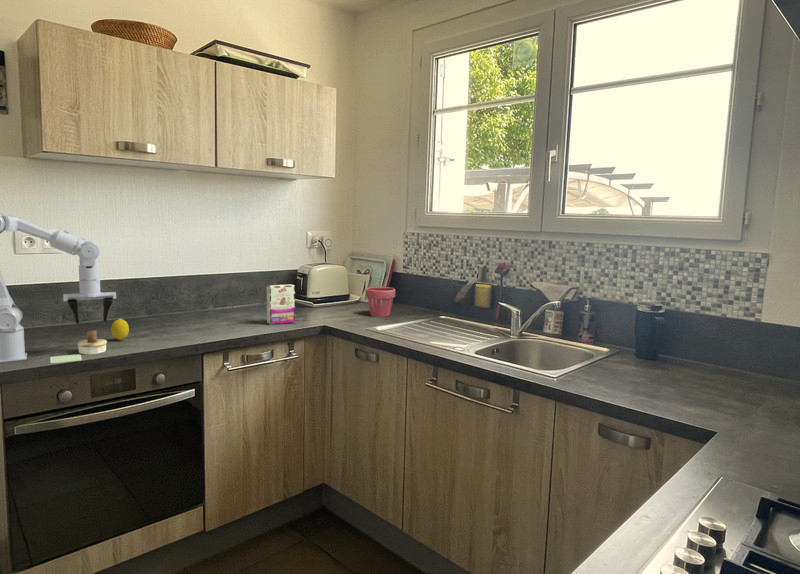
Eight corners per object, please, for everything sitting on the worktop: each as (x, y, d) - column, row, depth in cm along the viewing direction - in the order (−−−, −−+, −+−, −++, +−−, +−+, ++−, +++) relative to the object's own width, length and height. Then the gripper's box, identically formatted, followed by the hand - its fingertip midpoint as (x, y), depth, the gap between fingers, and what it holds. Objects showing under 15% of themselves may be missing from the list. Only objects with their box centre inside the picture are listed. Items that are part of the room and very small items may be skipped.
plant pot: (358, 314, 256) (359, 287, 255) (381, 311, 266) (382, 286, 264) (378, 319, 246) (378, 291, 244) (400, 316, 255) (401, 289, 254)
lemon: (109, 342, 186) (109, 320, 185) (113, 339, 191) (112, 317, 190) (127, 342, 188) (126, 319, 187) (130, 338, 193) (130, 316, 192)
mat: (50, 364, 158) (50, 363, 158) (50, 357, 165) (50, 357, 165) (82, 360, 163) (82, 359, 162) (80, 355, 169) (80, 354, 169)
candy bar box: (291, 321, 235) (291, 283, 233) (295, 323, 230) (295, 285, 228) (266, 323, 229) (266, 284, 227) (270, 325, 224) (270, 286, 222)
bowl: (79, 356, 168) (79, 347, 168) (78, 350, 174) (77, 342, 174) (107, 353, 172) (106, 345, 172) (104, 348, 178) (104, 340, 178)
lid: (77, 348, 167) (76, 334, 167) (77, 342, 174) (76, 329, 173) (107, 345, 171) (106, 332, 171) (106, 340, 178) (105, 327, 178)
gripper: (63, 282, 163) (65, 326, 165) (116, 280, 171) (118, 322, 173) (62, 279, 169) (64, 322, 170) (114, 278, 177) (115, 318, 178)
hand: (91, 321), depth 172 cm, fingers open, 7 cm apart
